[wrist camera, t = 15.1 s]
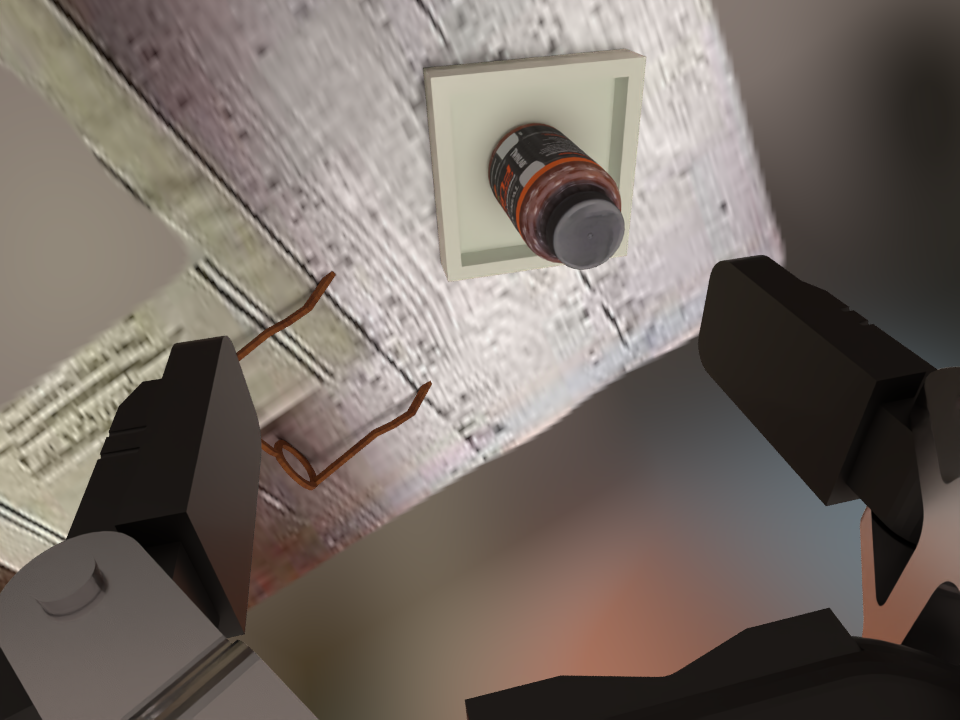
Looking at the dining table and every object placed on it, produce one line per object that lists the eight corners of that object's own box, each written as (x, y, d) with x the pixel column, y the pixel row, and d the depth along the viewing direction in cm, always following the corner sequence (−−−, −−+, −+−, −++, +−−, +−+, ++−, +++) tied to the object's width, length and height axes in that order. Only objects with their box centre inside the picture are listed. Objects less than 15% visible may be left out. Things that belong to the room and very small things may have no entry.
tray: (440, 263, 45) (448, 282, 43) (422, 67, 38) (430, 77, 35) (610, 238, 47) (626, 255, 45) (625, 48, 39) (646, 57, 37)
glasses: (190, 365, 46) (179, 407, 42) (331, 267, 44) (334, 301, 40) (309, 461, 54) (309, 505, 50) (434, 381, 52) (444, 419, 48)
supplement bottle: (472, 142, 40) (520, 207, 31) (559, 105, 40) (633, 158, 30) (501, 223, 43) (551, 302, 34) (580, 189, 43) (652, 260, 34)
